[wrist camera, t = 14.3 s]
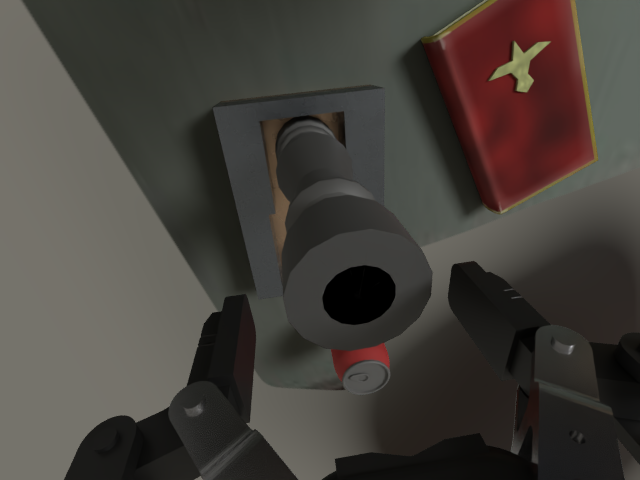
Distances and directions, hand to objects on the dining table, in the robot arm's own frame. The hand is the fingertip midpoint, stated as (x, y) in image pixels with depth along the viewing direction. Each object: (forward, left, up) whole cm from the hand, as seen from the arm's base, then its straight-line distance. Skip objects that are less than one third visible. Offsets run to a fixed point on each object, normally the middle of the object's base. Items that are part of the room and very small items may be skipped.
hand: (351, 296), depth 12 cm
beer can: (-4, +24, -26) cm, 35 cm away
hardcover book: (-22, -2, -26) cm, 35 cm away
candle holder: (0, 0, -25) cm, 25 cm away
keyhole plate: (0, +5, -26) cm, 26 cm away
